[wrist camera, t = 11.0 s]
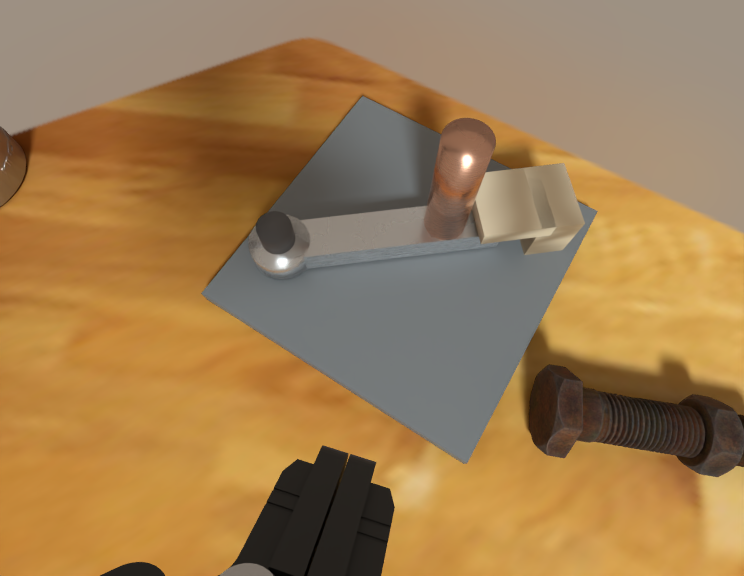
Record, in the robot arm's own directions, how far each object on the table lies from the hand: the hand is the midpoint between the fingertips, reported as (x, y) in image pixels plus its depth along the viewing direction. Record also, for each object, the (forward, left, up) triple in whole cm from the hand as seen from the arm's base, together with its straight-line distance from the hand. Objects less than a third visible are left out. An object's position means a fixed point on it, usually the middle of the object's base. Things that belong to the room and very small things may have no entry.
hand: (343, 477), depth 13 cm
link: (+5, +16, -18) cm, 25 cm away
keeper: (+16, +14, -19) cm, 28 cm away
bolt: (+19, -2, -20) cm, 28 cm away
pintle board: (+8, +14, -20) cm, 26 cm away
